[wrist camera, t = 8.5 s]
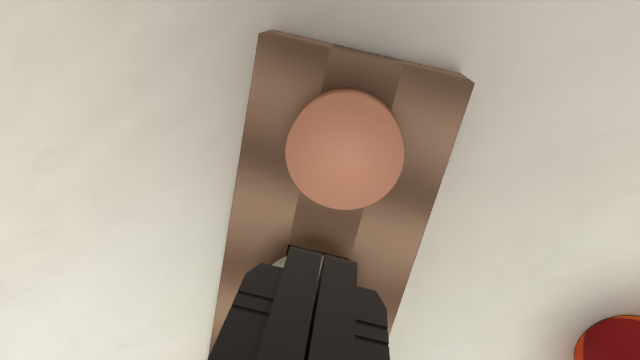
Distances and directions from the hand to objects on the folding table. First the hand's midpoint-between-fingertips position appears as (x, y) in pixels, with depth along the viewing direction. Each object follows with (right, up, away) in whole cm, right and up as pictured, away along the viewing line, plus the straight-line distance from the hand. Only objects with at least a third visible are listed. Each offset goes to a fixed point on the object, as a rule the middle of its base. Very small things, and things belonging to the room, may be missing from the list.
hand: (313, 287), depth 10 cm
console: (0, -2, +18) cm, 18 cm away
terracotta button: (+2, +5, +14) cm, 16 cm away
